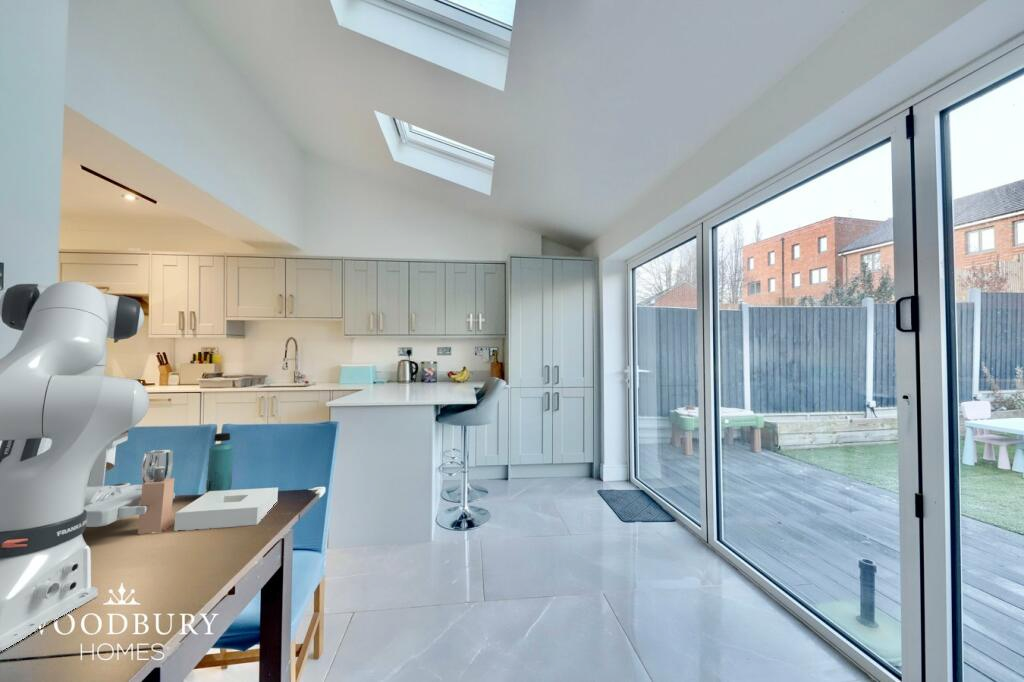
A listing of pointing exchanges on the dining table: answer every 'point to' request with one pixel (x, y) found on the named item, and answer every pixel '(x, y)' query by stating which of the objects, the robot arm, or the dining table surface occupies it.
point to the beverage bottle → (220, 465)
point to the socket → (226, 509)
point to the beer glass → (156, 463)
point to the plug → (156, 503)
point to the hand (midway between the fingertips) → (160, 502)
